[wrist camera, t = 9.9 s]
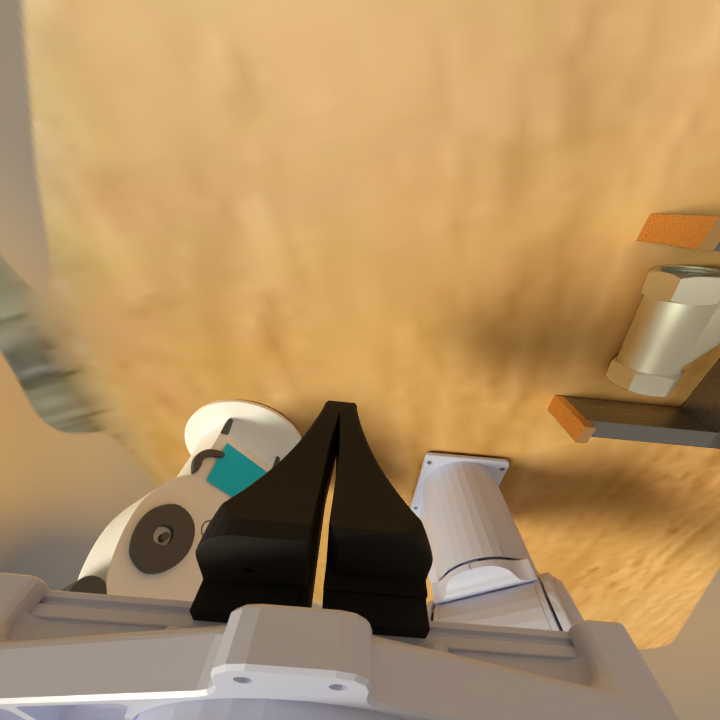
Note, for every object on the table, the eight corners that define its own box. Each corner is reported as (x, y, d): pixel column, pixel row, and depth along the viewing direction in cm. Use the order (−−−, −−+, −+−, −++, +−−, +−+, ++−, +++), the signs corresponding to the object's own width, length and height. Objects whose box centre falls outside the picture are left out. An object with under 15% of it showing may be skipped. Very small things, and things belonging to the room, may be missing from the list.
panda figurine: (332, 459, 28) (300, 683, 15) (255, 501, 32) (175, 711, 19) (240, 377, 24) (80, 592, 11) (162, 436, 27) (-29, 652, 14)
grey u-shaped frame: (686, 422, 25) (735, 457, 21) (547, 409, 24) (575, 442, 21) (846, 235, 17) (959, 242, 14) (650, 213, 17) (718, 216, 14)
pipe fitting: (736, 259, 19) (636, 266, 19) (823, 271, 15) (701, 279, 15) (678, 364, 23) (594, 370, 23) (737, 393, 19) (639, 400, 19)
